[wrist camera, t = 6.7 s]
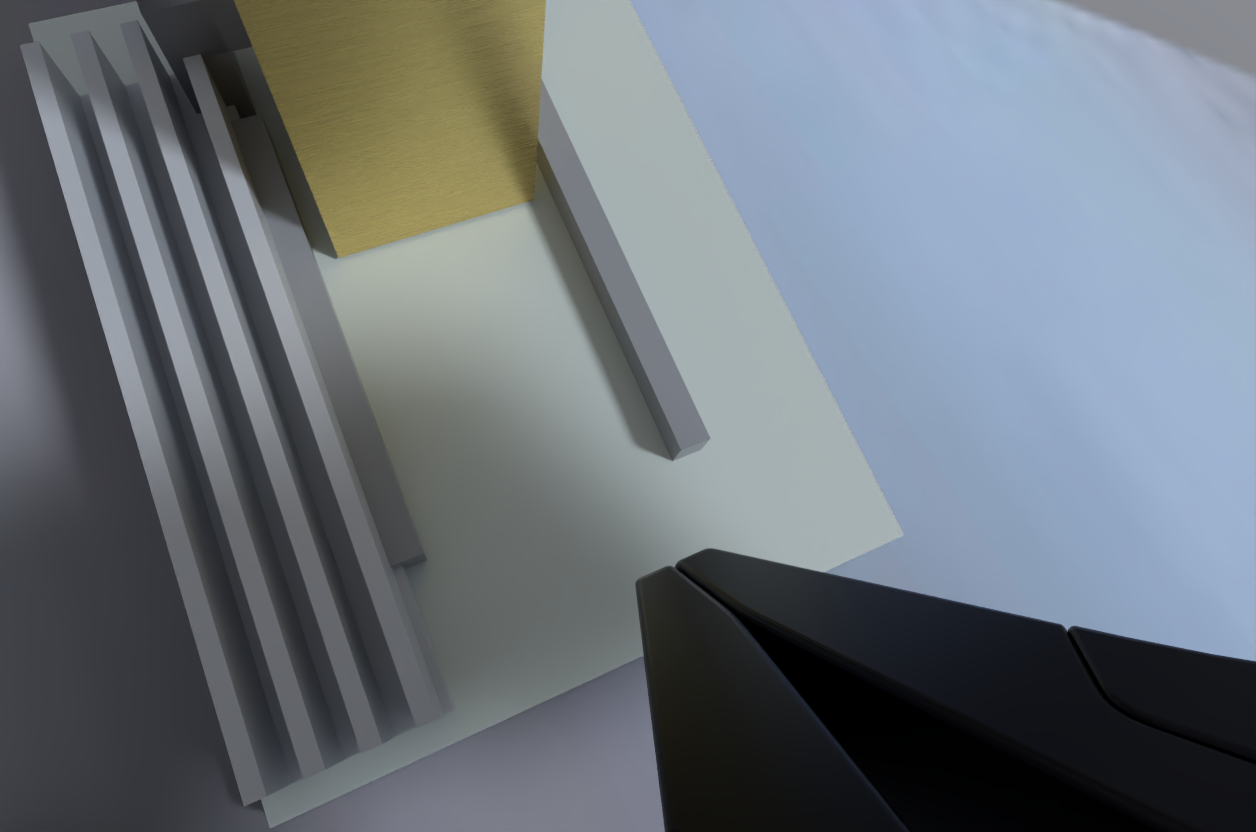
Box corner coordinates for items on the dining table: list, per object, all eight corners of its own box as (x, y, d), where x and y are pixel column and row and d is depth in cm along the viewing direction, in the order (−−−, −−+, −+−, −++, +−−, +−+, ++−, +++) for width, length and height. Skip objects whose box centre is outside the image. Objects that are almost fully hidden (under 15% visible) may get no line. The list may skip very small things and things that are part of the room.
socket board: (885, 541, 16) (996, 503, 13) (283, 819, 13) (197, 876, 10) (579, -63, 20) (596, -231, 16) (49, 52, 17) (-78, -120, 13)
